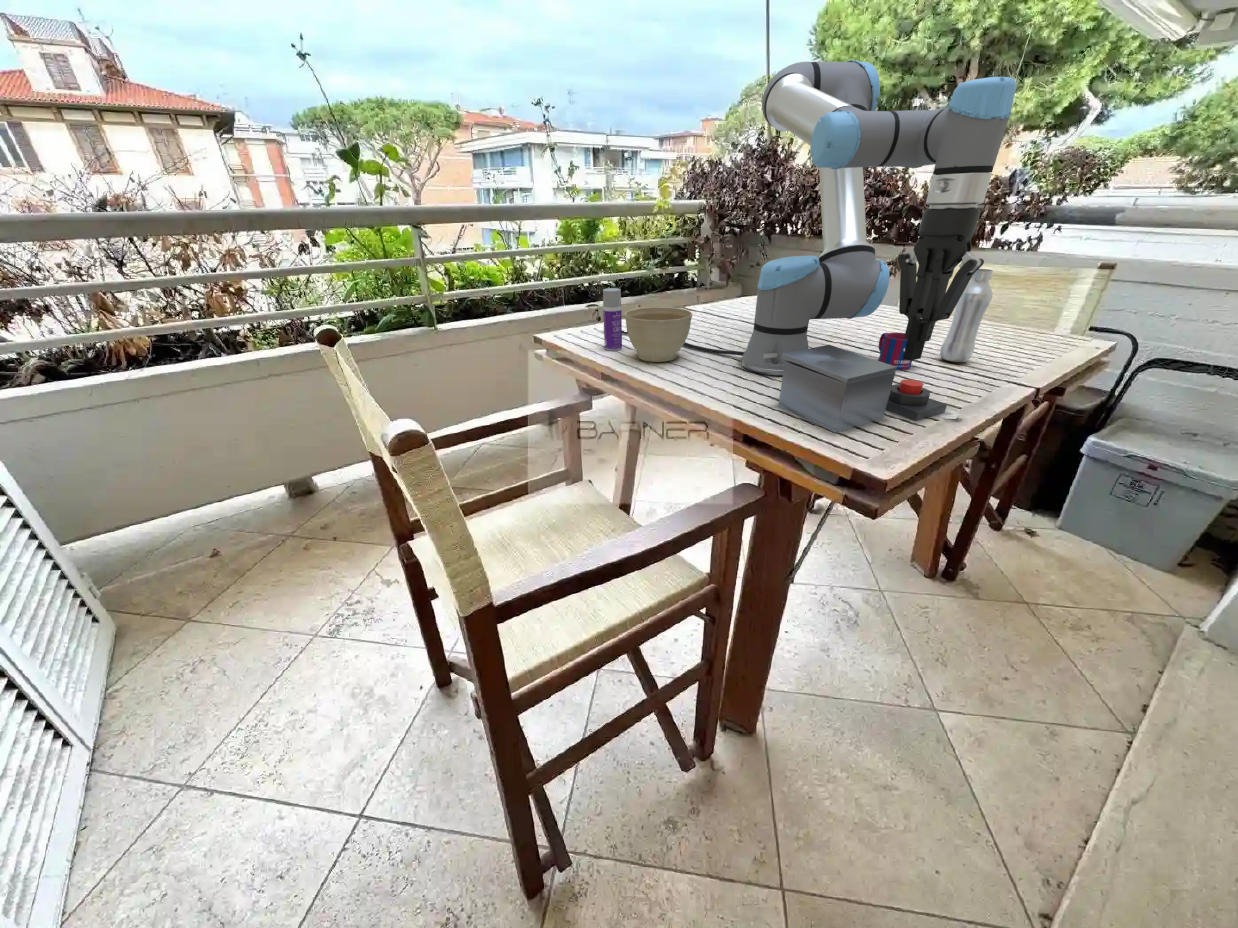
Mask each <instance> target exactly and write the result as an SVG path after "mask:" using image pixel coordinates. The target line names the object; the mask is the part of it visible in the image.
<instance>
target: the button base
mask: <svg viewBox="0 0 1238 928" xmlns="http://www.w3.org/2000/svg"><path fill="white" fill-rule="evenodd" d="M899 385H900V383H896V384H892V387H891V391H890V395H889V399H888V402H887V406H886V410H885V411H888V412H891V413H894V414H896V415H898V416H901V417H904V418H906V419H908V420H911V421H913V422H917V421H921V420H925V419H928V418H931V417H934V416H938V415H940V414H944V413H946V409H947V406H948V404H947V403H945V402H942V401H939V400H935V399H933V398H930V395H931V390H929V389H928V388H926V387H922V390H921V393H920V394H908V393H903V392H900V391H898V389H899Z"/></svg>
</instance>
